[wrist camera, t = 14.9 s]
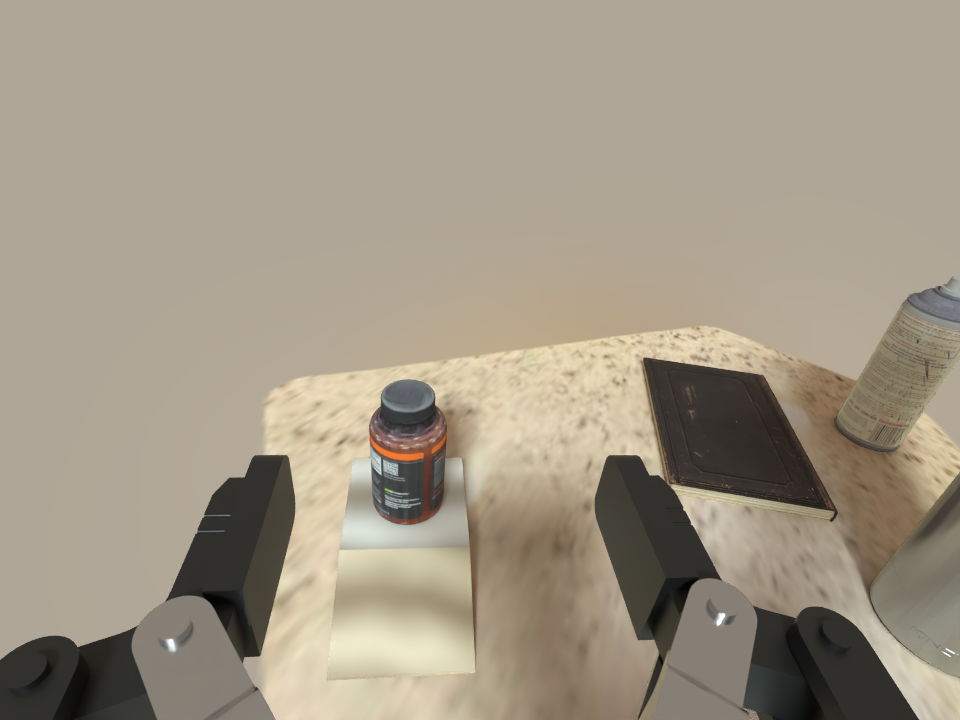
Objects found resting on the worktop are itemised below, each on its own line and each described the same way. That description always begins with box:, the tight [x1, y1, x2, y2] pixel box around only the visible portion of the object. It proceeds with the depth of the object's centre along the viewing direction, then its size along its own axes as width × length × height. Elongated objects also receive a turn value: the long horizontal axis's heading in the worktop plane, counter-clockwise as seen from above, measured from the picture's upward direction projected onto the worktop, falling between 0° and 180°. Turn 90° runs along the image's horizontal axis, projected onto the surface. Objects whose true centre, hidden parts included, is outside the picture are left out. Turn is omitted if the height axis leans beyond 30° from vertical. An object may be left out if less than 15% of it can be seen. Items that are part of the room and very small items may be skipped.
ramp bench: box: [327, 458, 475, 681], centre depth 43 cm, size 18×10×4 cm, turn 5°
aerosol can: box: [835, 276, 960, 452], centre depth 58 cm, size 7×7×20 cm
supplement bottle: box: [369, 380, 447, 525], centre depth 42 cm, size 6×6×11 cm
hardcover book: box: [643, 358, 838, 522], centre depth 61 cm, size 16×23×2 cm
